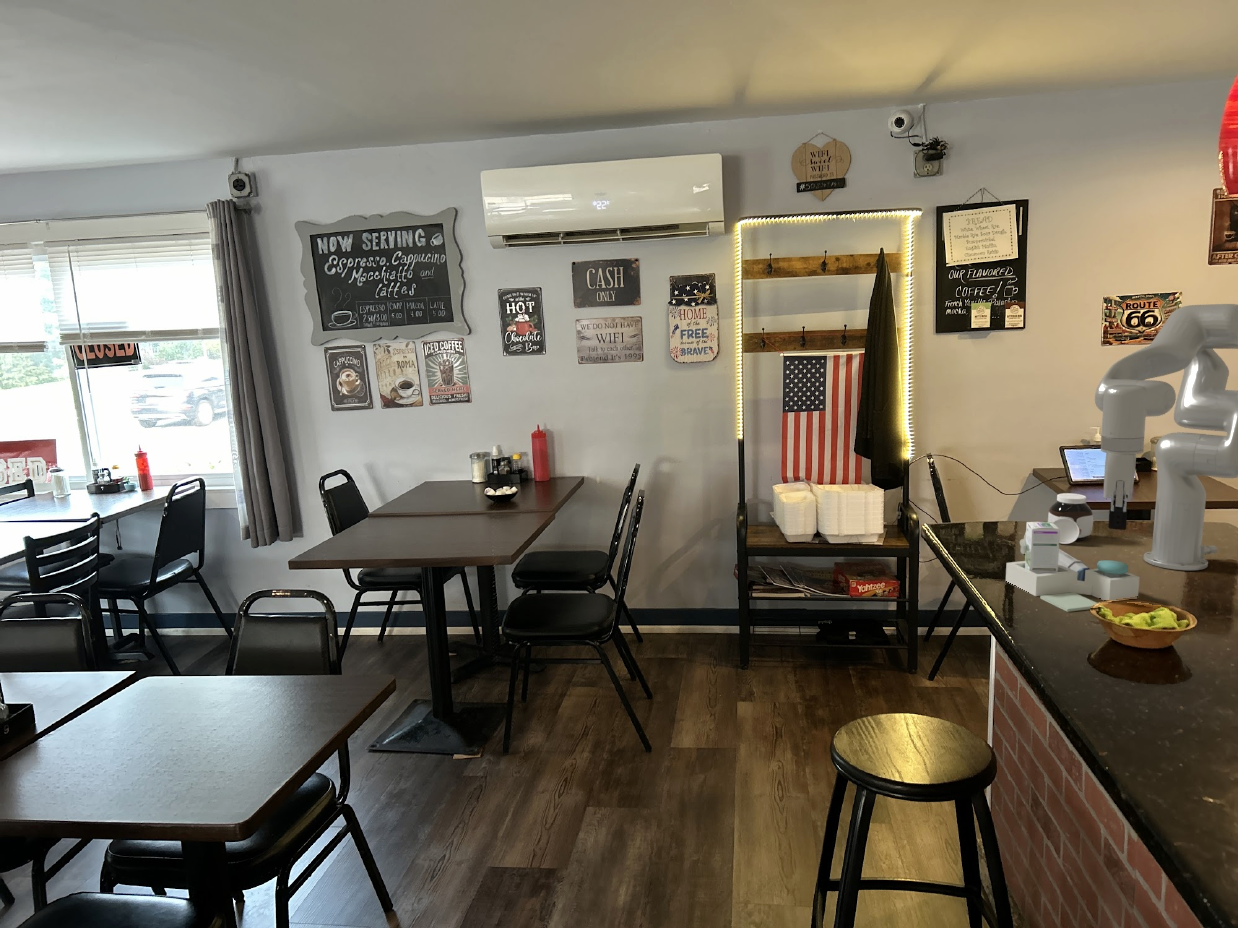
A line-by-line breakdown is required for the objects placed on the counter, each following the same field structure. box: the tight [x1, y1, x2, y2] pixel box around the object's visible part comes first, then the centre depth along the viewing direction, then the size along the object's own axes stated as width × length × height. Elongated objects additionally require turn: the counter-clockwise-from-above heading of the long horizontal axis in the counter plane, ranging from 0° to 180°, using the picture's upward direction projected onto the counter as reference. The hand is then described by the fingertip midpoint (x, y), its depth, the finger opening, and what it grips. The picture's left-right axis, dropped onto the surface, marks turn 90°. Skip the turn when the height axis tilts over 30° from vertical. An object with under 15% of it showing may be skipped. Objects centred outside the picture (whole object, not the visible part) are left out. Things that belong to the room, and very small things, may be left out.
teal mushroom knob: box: [1096, 559, 1129, 578], centre depth 167 cm, size 6×6×6 cm
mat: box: [1039, 592, 1098, 613], centre depth 164 cm, size 8×8×1 cm
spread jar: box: [1047, 492, 1094, 545], centre depth 207 cm, size 12×11×12 cm
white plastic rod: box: [1019, 532, 1091, 581], centre depth 188 cm, size 5×7×25 cm
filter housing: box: [1005, 560, 1141, 601], centre depth 171 cm, size 18×18×5 cm
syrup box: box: [1024, 521, 1060, 574], centre depth 173 cm, size 6×6×14 cm
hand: (1117, 528), depth 165 cm, fingers closed
